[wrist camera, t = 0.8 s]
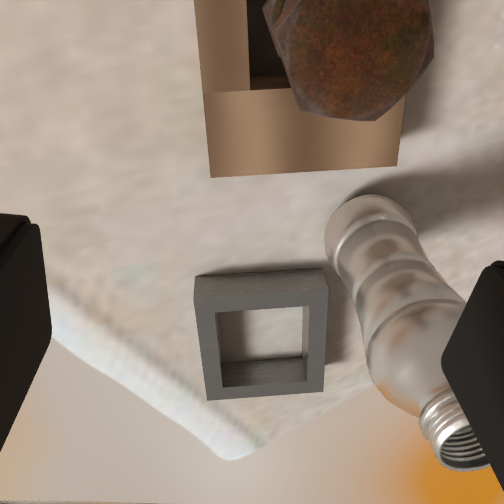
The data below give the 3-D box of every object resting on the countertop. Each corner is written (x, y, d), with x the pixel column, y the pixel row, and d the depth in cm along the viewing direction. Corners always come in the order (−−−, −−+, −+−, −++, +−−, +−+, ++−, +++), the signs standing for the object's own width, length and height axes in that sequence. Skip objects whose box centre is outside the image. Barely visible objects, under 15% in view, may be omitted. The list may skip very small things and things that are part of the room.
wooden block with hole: (413, -193, 24) (445, -218, 21) (378, 145, 34) (396, 165, 30) (180, -184, 24) (174, -208, 20) (211, 155, 33) (210, 177, 30)
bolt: (352, -30, 28) (465, -24, 15) (332, 59, 30) (414, 129, 18) (256, -48, 27) (289, -57, 14) (243, 45, 30) (263, 109, 17)
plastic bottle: (419, 215, 37) (589, 431, 20) (357, 272, 39) (461, 506, 22) (363, 167, 35) (503, 367, 18) (301, 231, 37) (370, 459, 20)
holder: (321, 267, 39) (328, 289, 36) (317, 367, 45) (323, 391, 42) (195, 276, 39) (193, 298, 36) (207, 375, 45) (207, 400, 42)
